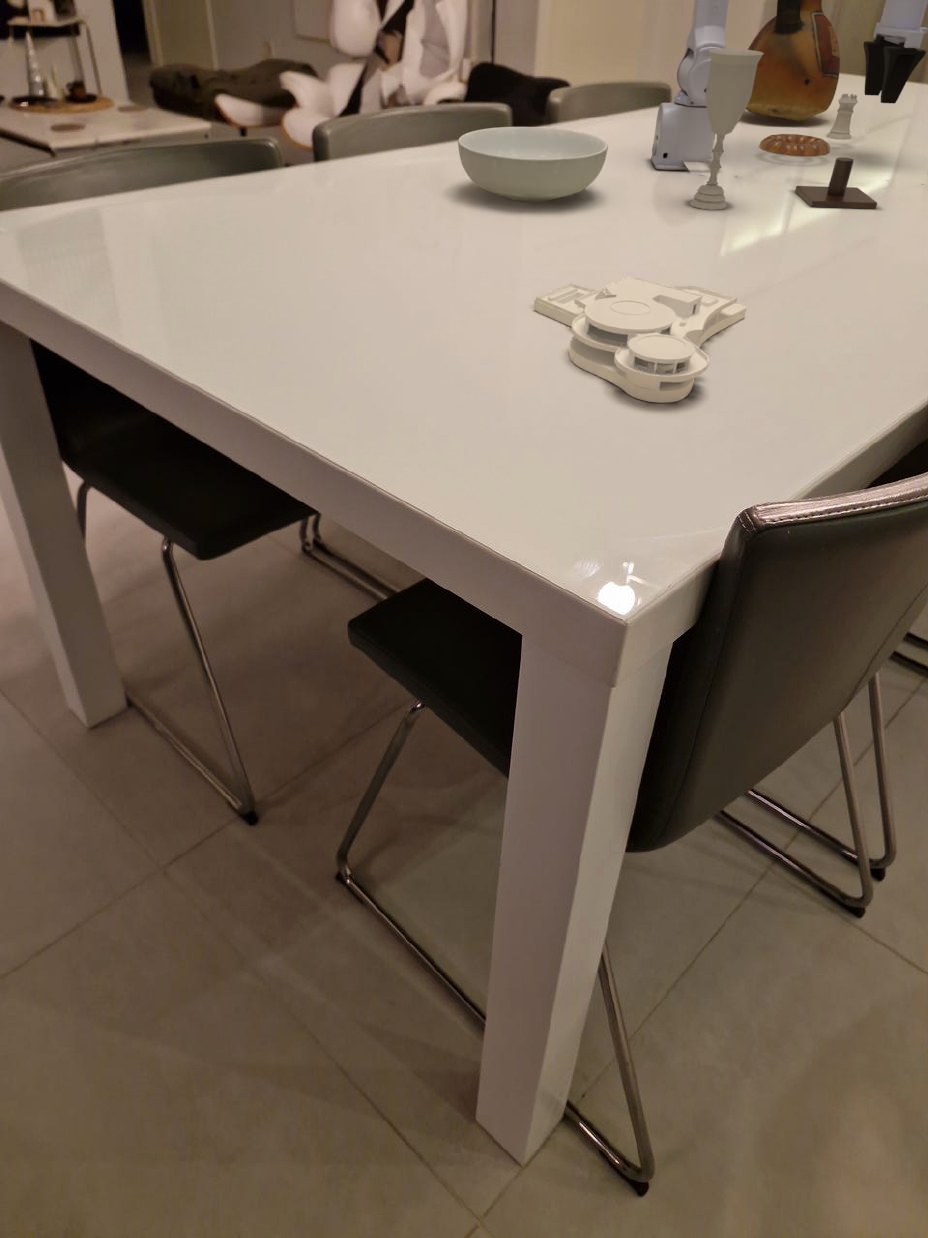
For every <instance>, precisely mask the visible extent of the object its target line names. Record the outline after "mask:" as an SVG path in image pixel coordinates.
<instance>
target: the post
mask: <svg viewBox="0 0 928 1238" xmlns="http://www.w3.org/2000/svg"><path fill="white" fill-rule="evenodd" d="M854 162H855V160H854V159H853V158H852V157H851V158H849V157H841V156H840V157H836V158H835V161H834V165H833V168H832V172H831V176H830V180H829V184H828V186H820V185H817V186H815V185H796V186H795V189H794V190H795V191H794V193H796V194H797V195H798V196H799V197H800V198H801V199H802V200H803V201H804V202H805V203H806V204H808V205H809V206H810V208H831V209H832V208H834V209H867V210H868V209H871V210H876V209H877V205H878V202H877V201H876V200H874V199H873V198H872V197H870V196H869V195H867V194H866V193H865V192H864V191H863V190H861V189H860V188H859V187H854V186H853V187H852V186H851V187H850V186H848V183H849V180H850V176H851V173H852V169H853V166H854Z"/></svg>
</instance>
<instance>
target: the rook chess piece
mask: <svg viewBox="0 0 928 1238" xmlns="http://www.w3.org/2000/svg"><path fill="white" fill-rule="evenodd" d="M857 98H858V95H857V94H854V93H850V94H849V93H842V94H841V97H840V98H839V99H838V103H839V107H838V109H837V110H836V111H837V112H836V113H837V114H836V118H835V120H834V123H833V125H832V127H831V129H829V132H828V133H826V138H828V139H831V140H841V141H844V140H845V141H847V140H848V141H849V140H852V135H851V129H850V128H851V120H852V115H853V114H854V113H855V111H854V108H855V106H856V105H857V104H858V102H859V101H858V99H857Z"/></svg>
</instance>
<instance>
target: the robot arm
mask: <svg viewBox="0 0 928 1238" xmlns="http://www.w3.org/2000/svg"><path fill="white" fill-rule="evenodd" d="M729 2H730V0H694V1H693V11H692V19H691V28H690V30H689V34H688V36H687V38H686V43H685V50H684V53H683V56H682V58H681V60H680V62H679V64H678V66H677V70H676V81H677V85H678V87H679V88H680V90H679V91H678V93H677V94H676V95H674V100H673V101H672V102H661V103H660V104H659V106H658V111H657V116H656V122H655V130H654V136H653V143H652V150H651V151H652V152H651V155H650V161H651V162H652V164H653V165H654V167H655V169H656V170H671V171H672V170H674V171H689V170H690V169H689V168H688V167H687V165H686V164H685V162H684V161H688V162H703V161H709V160H711V159H712V156H713V152H712V150H713V149H714V146H715V141H716V139H715V138H716V134H715V133H714V132H712V131H711V127H710V122H709V118H708V113H707V106H706V96H705V94H706V88H707V82H708V77H709V71H710V65H711V58H710V54H709V50H713V49H727V41H726V40H727V39H726V24H727V15H728V10H729ZM927 6H928V0H885V2H884V6H883V11H882V14H881V18H880V21H879V22H876V24H875V27H874V31H873V36H872V38H874V40H873V41H872V40H871V41H870V40H869V41H868V40H866V41H863V50H864V56H865V77H864V95H865V96H877V97H878V96H880V103H881V104H896V103H897V101H898V99H899V97H900V96H901V94H902V92H903V90H904V87H905V86H906V84H907V82H908V80H909V78H910V76H911V75H912V74H913V72H914V70H915V69H916V68H917V66H918V65H919V63H920V62H921V61H922V60H923V59H924V57H925V56H926V53H927V50H926V49H921V45H922V42H923V38H924V35H926V34H927V33H928V27H923V26H922V23H923V20H924V17H925V13H926V10H927Z"/></svg>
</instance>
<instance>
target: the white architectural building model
mask: <svg viewBox="0 0 928 1238" xmlns="http://www.w3.org/2000/svg"><path fill="white" fill-rule="evenodd" d="M737 301H738V297H736V296H732V295H729V294H725V293H721V292H717V291H713V290H710V289H707V288H704V287H700V286H695V285H690V284H685V285H669V286H668V285H663V284H660V283H656V282H654V281H653V282H652V281H649V280H644V279H641V278H638V277H634V276H628V277H626V278H623V279H620V280H618V281H614V282H611V283H609V284H607V285H604V286H602V287H600V288H597V289H594V288H591V287H587V286H585V285H580V284H576V283H573V282H570V283H568V284H565V285H563V286H559V287H557V288H555V289H552V290H550V291H547V292H545V293H543V294H539V295H537V296H535V299H534V301H533V311H535V312H537V313H539V314H541V315H544V316H545V317H549V318H550V319H553V320H555V321H557V322H560V323H561V324H563V325H565V326H568V327H570V328H571V334H572V335H573V337H571V339H570V342H569V351H568V356H569V359H570V360H571V361H572V363H573V364H574V365H576V366H577V367H578V368H581V369H582V370H584V371H586V372H588V373H591V374H593V375H595V376H596V377H599V378H601V379H603V380H606V381H607V382H610V383H612V384H613V385H615V386H617V387H618V388H620V389H621V390H622V391H624V392H625V393H626V394H627V395H629V396H630V397H632V398H635V399H638V400H639V401H640V400H641V401H643V402H644V401H645V402H649V403H659V404H660V403H661V404H662V403H663V404H664V403H675V402H679V401H682V400H683V399H685V398H686V397H688V395H689V394H690V393H691V391H692V389H693V386H694V382H695V378H697V377H699V376H701V375H702V374H703V373H705V372H706V371H707V369H708V368H709V363H710V357H709V355H708V354H707V353H705V351H703V350H702V349H701V347H702V346H703V344H704V343H705V342H706V341H707V340H708V339H709V338H711V337H713V336H714V335H715V334H717V333H719V332H720V331H722V330H724V329H726V328H728V327H730V326H732V325H734V324H735V323H737V322H740V321H741V320H743V319H745V318H746V313H747V307H748V306H747V305H744V304H740V303H737Z"/></svg>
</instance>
